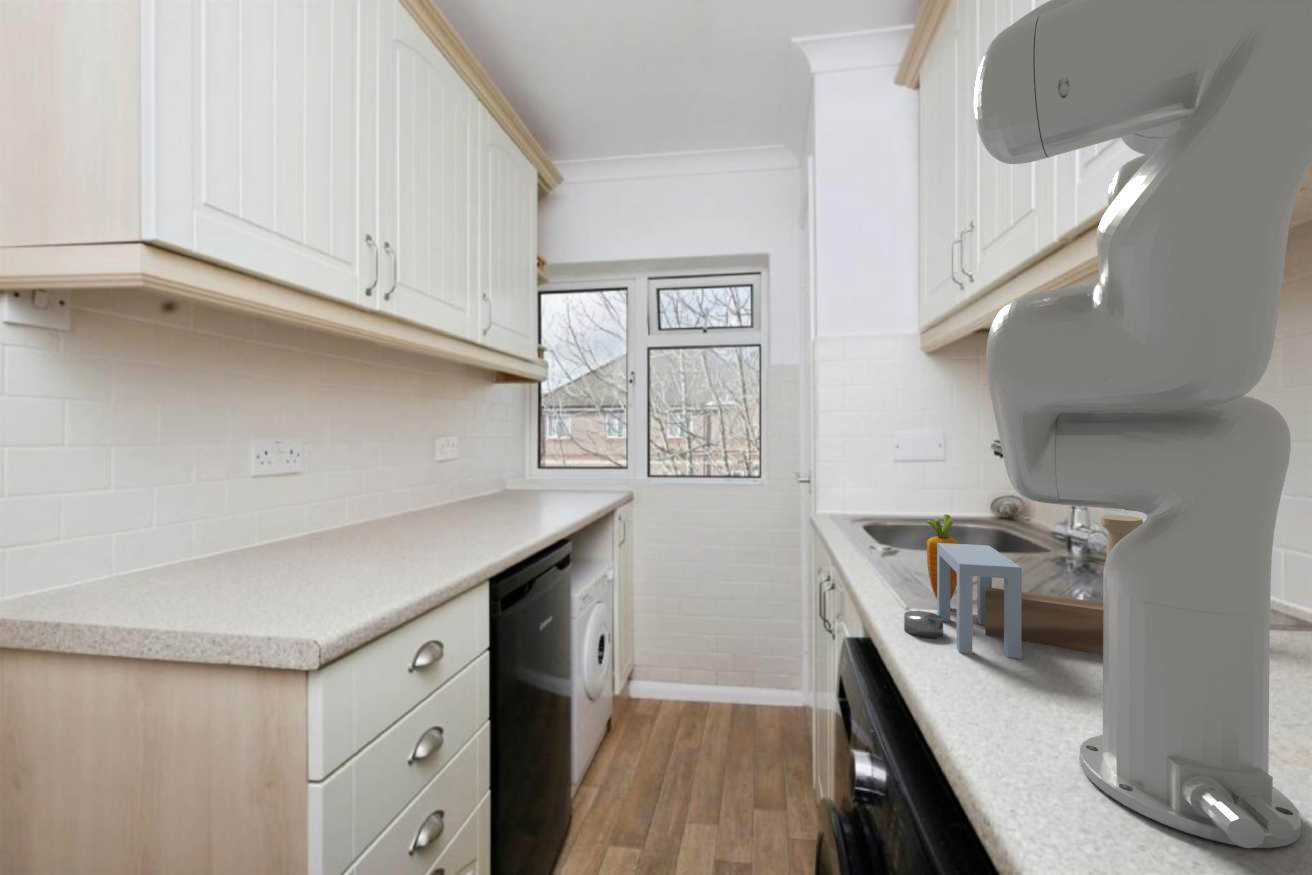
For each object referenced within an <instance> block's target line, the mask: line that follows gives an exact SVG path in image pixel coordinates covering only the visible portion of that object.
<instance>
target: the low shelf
mask: <svg viewBox="0 0 1312 875" xmlns="http://www.w3.org/2000/svg"><path fill="white" fill-rule="evenodd" d="M950 566H951V567H952V568H953V569H954V570H955V571H956V572H957V586H956V649H957V651H958V653H961V654H969V655H972V654H973V595H974V594H973V592H974V590H973V581H974V580H973V579H974V578H973V577H975V578H976V577H977V603H976V604H977V617H976V618H977V622H978V623H979V625H982V626H983V625H984V626H985V593H986V589H987V587H989V588H993V585H992V584H993V582H992V580H993V579H995V578H997V579H1003V589H1004V638H1003V653H1004V655H1005V656H1006V657H1007V658H1010V659H1011V658H1012V659H1020V660H1021V659H1022V641H1021V608H1022V592H1023V591H1022V587H1023V584H1022V578H1023V577H1022V576H1023V574H1022V573H1023V572H1022V571H1023V570H1022V566H1020V565H1019V564H1017V563H1015V562H1014V561H1013V560H1011V559H1010V558H1009V557H1007V556H1006V555H1003V553H1001V552H999V551H998V550H996V549H995V548H993V547H992V546H990V545H985V544H984V545H983V544H967V543H960V544H948V543H937V598H936V601H937V605H936V607H937V609H936V610H937V612H936V614H937V615H939V616H941V617H942V618H943V622H948V623H951V600H950ZM992 578H993V579H992Z"/></svg>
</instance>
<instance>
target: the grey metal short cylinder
mask: <svg viewBox="0 0 1312 875" xmlns="http://www.w3.org/2000/svg"><path fill="white" fill-rule="evenodd" d="M903 614H904V615H903V616H904V621H903V624H904V626H903V627H904V628H903V631H904V632H905V633H906V634H908V635H910V636H912V637H914V638H915V637H916V638H920V639H928V640H935V639H938V640H939V639H941V638H943V637H944V621H943V618H942V617H941V616H939V615H937V613H936V614H935V613H933V612H929V611H922V610H909V611H905V612H904V613H903Z"/></svg>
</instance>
